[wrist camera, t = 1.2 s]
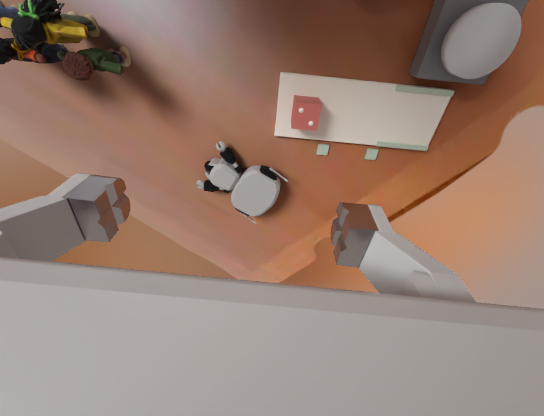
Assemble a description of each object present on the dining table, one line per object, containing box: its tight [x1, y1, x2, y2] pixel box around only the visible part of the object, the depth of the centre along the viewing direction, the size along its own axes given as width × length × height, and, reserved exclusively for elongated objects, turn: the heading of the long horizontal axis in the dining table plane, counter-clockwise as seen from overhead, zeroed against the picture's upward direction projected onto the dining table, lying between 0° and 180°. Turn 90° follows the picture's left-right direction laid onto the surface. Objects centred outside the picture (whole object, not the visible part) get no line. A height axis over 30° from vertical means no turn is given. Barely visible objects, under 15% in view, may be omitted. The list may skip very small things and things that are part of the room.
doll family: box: [0, 0, 131, 80], centre depth 34 cm, size 23×9×13 cm, turn 87°
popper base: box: [409, 0, 529, 85], centre depth 37 cm, size 10×10×3 cm
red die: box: [291, 95, 322, 131], centre depth 42 cm, size 4×4×4 cm
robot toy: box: [197, 141, 288, 224], centre depth 51 cm, size 12×4×15 cm
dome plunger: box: [441, 3, 521, 79], centre depth 34 cm, size 8×8×4 cm
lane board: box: [274, 72, 455, 160], centre depth 45 cm, size 13×27×1 cm, turn 85°
